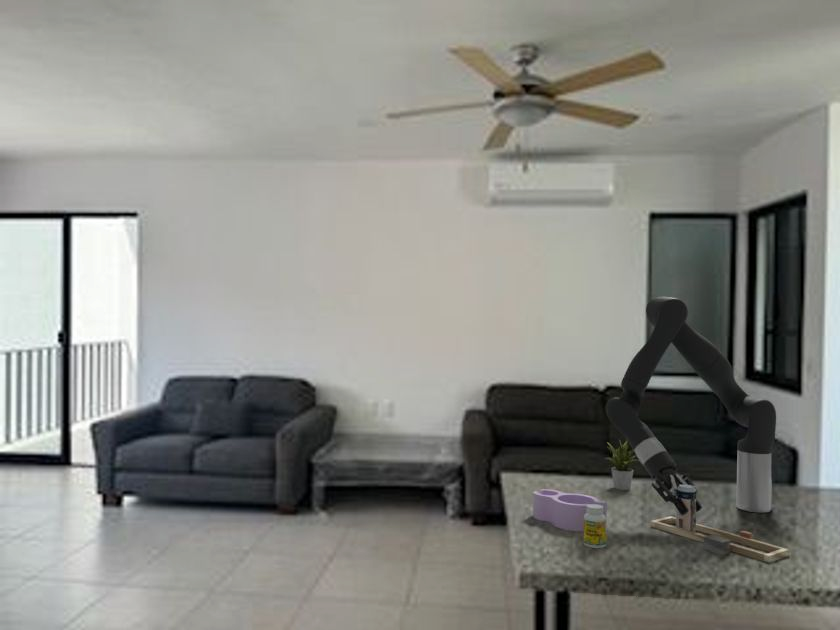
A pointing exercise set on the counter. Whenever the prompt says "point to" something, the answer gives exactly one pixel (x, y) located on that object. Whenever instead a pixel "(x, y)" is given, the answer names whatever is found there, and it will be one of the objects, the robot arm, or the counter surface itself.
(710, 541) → the beam track
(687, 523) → the beer can
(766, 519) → the counter surface
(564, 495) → the clip
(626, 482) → the house plant
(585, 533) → the supplement bottle
